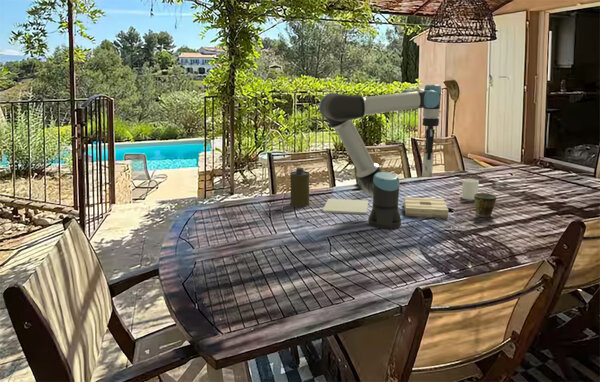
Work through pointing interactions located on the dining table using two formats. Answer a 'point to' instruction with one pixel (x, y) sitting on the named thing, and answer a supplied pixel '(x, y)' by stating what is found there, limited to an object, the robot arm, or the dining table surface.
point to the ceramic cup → (484, 204)
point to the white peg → (427, 169)
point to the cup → (469, 188)
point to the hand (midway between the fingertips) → (427, 164)
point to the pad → (346, 206)
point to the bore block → (425, 207)
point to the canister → (299, 188)
